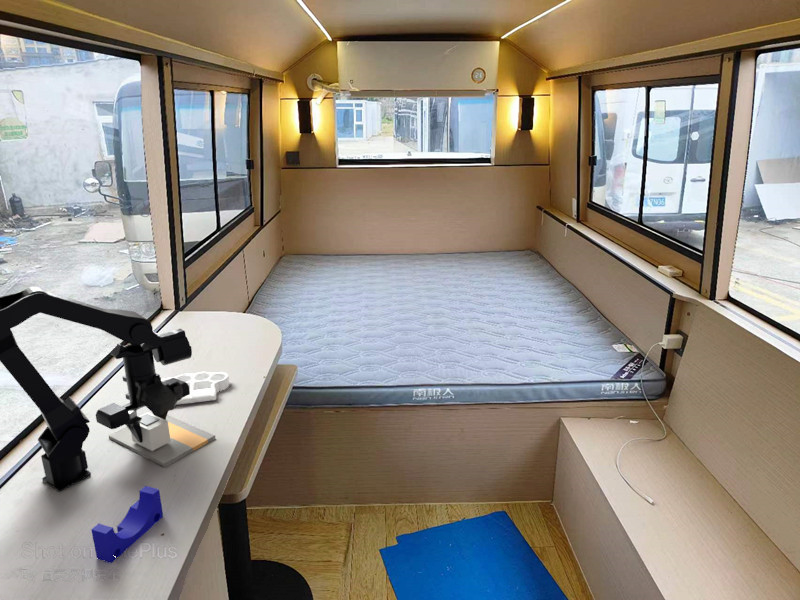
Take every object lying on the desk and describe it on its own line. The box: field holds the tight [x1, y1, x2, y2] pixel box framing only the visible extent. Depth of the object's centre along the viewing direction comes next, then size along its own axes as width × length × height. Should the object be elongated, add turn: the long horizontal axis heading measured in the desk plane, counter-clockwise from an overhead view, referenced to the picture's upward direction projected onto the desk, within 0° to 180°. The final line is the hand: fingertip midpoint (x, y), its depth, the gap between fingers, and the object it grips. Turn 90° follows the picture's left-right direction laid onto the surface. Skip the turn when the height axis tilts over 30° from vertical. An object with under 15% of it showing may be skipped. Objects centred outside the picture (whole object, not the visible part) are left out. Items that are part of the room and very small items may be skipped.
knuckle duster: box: [161, 371, 230, 406], centre depth 150 cm, size 3×18×15 cm
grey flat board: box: [108, 413, 216, 468], centre depth 129 cm, size 13×20×1 cm, turn 57°
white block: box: [131, 412, 171, 451], centre depth 124 cm, size 4×7×5 cm, turn 57°
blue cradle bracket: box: [90, 485, 164, 564], centre depth 98 cm, size 12×4×6 cm, turn 161°
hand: (150, 436), depth 125 cm, fingers closed on white block, 4 cm apart
